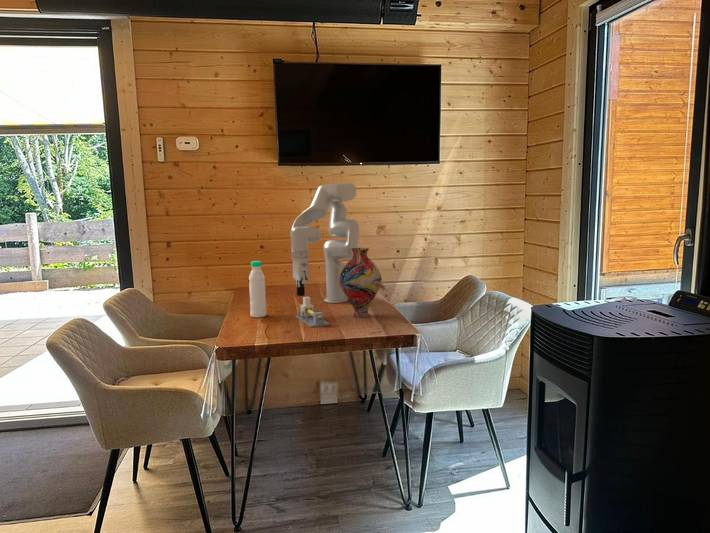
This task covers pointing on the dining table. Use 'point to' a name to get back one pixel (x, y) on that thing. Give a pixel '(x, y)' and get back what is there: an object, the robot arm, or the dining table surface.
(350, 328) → the dining table surface
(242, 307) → the dining table surface
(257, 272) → the water bottle
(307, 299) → the small white bottle
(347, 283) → the vase
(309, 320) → the gray rack
